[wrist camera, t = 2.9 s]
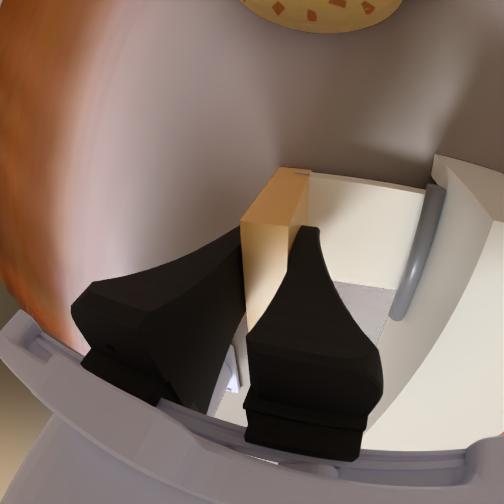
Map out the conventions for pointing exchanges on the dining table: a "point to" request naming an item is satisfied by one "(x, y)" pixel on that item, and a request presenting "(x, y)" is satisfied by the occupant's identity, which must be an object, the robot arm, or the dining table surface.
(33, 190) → the dining table surface
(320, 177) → the cream block orange end
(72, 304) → the robot arm
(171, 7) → the dining table surface
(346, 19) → the toy food set
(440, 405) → the cream rectangular block
